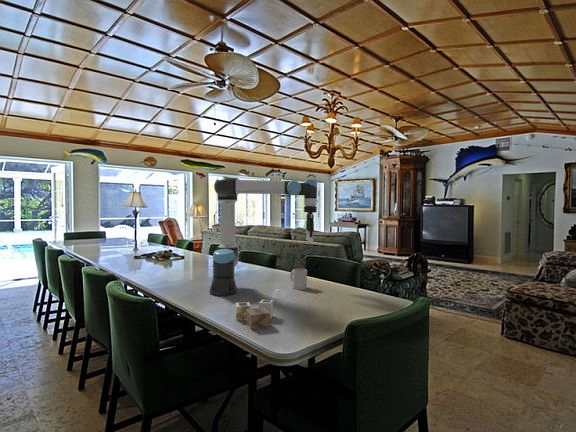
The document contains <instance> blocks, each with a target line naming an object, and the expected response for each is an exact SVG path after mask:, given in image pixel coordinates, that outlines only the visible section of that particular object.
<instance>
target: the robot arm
mask: <svg viewBox="0 0 576 432" xmlns="http://www.w3.org/2000/svg"><path fill="white" fill-rule="evenodd" d="M213 187H214V188H213V189H214V192H215V194H217V197H216V198H217V199H216V200H217V201H218V203H219V207H220V208H219V209H220V210H219V213H220V214H219V219H220V220H219V221H220V223H219V224H220V225H219V227H220V228H219V229H220V244H219V245H218V246H217V249H216V250H215V251H213V254H212V262H213V263H212V281H211V284H210V287H209V294H210V295H212V296H217V297H220V296H221V297H225V296H226V297H227V296H233V295H236V294H237V293H238V286H237V283H236V280H235V267H236V266H237V265H238V263H239V260H240V254H239V246H238V245H237V244H236V203H237V202H238V195H239V194H241V195H242V194H247V195H248V194H252V195H256V194H257V195H284V196H303V205H304V206H303V212H304V213H306V225H305V230H306V231H305V234H306V235H305V240H306V241H307V242H308V244H314V232H315V231H314V230H315V228H314V227H315V224H314V218H315V215H314V213H317V212H318V211H317V210H318V209H317V208H318V207H317V203H318V202H319V201H318V180H316V179H315V178H314V179H313V178H311V179H309V178H307V179H304V182H299V181H298V180H267V179H265V180H264V179H263V180H262V179H239V177H231V176H225V175H224V176H220V177H218V178H217V179H216V180H215V181H214V185H213Z"/></svg>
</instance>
